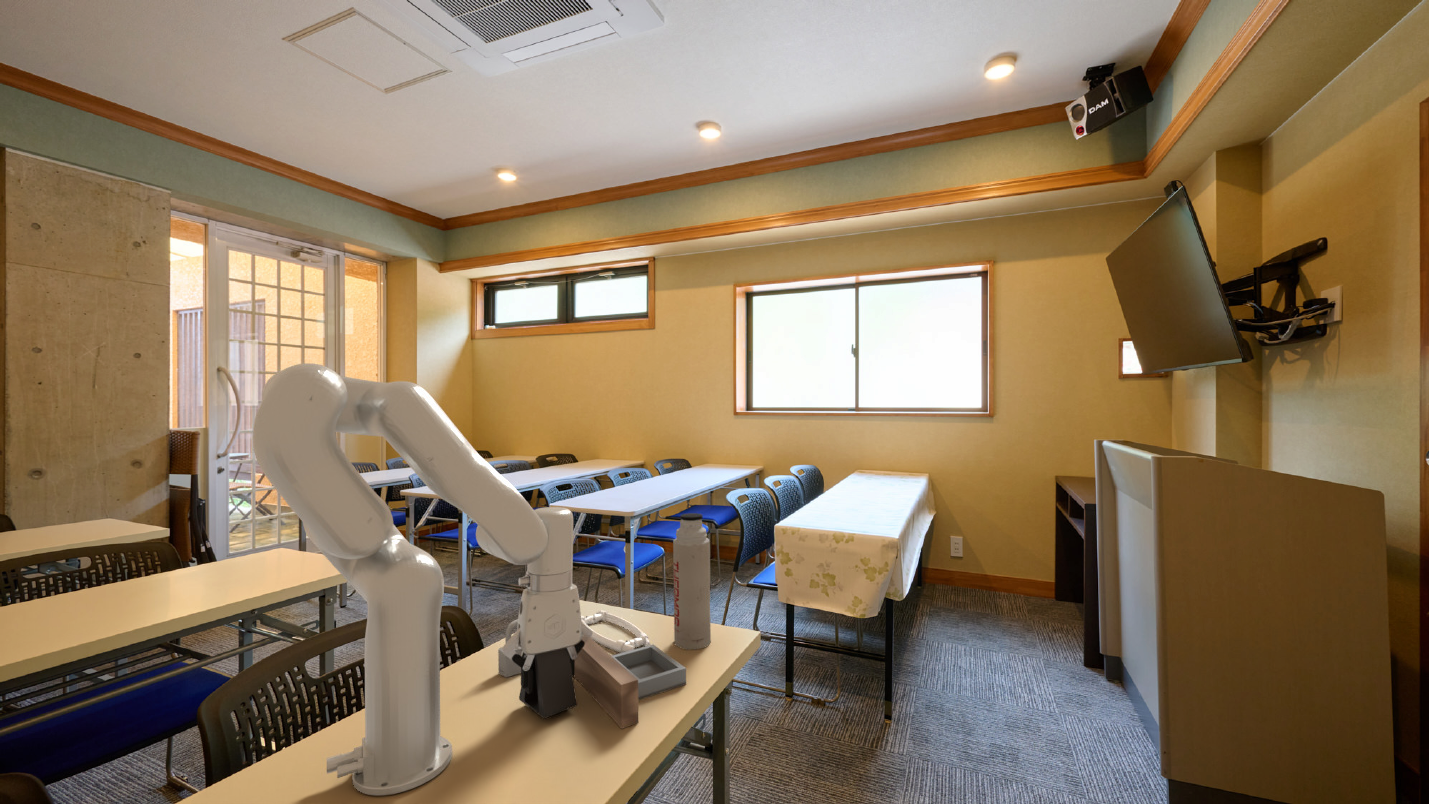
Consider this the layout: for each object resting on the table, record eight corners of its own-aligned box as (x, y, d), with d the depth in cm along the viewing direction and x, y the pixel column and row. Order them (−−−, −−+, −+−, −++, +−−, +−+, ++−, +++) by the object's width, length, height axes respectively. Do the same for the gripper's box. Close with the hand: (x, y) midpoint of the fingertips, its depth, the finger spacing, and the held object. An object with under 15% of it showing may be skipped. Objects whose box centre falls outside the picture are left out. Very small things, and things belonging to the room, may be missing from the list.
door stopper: (518, 699, 98) (520, 629, 99) (550, 688, 103) (551, 621, 103) (544, 719, 92) (546, 644, 92) (577, 706, 96) (578, 634, 97)
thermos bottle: (675, 650, 120) (673, 518, 120) (673, 635, 128) (672, 511, 128) (712, 648, 121) (710, 517, 121) (708, 633, 129) (707, 510, 129)
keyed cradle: (637, 700, 100) (637, 683, 100) (607, 672, 111) (607, 656, 111) (686, 684, 105) (685, 668, 105) (653, 659, 116) (653, 644, 116)
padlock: (529, 660, 116) (528, 611, 116) (540, 666, 114) (539, 616, 114) (496, 673, 111) (496, 622, 111) (507, 679, 108) (506, 627, 108)
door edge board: (621, 728, 91) (621, 684, 91) (566, 667, 113) (566, 632, 113) (639, 722, 93) (639, 679, 93) (582, 663, 114) (581, 628, 115)
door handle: (620, 662, 116) (568, 626, 135) (661, 649, 122) (605, 616, 142) (620, 649, 116) (568, 614, 135) (660, 636, 122) (605, 605, 142)
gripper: (503, 594, 90) (501, 709, 90) (605, 578, 100) (603, 681, 99) (492, 582, 96) (490, 690, 96) (589, 568, 106) (587, 666, 105)
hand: (547, 684), depth 97 cm, fingers closed on door stopper, 6 cm apart
